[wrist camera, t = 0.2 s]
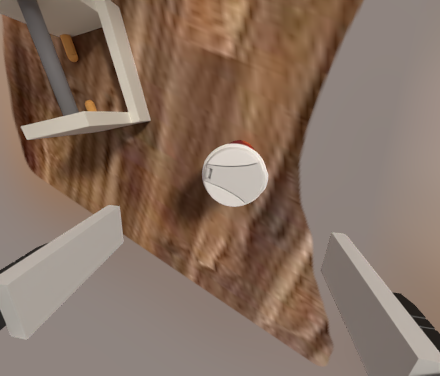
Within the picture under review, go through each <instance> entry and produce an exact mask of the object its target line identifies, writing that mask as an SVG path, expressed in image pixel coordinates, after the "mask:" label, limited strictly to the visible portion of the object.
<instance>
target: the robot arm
mask: <svg viewBox="0 0 440 376" xmlns="http://www.w3.org/2000/svg"><path fill="white" fill-rule="evenodd" d="M123 242H124V241H123V232H122V223H121V214H120V206H113V205H108V206H106V207H105V208H103V209H101V210H100V211H98V212H97V213H95V214H94V215H92V216H90V217H89V218H87V219H86V220H84V221H83V222H81V223H79V224H78V225H76V226H75V227H73V228H72V229H70V230H69V231H67V232H65V233H64V234H62V235H61V236H59V237H58V238H56V239H55V240H53V241H51V242H49V243H47V244H44V245H42V246H39V247H37V248H35V249H34V250H32V251H30V252H29V253H27V254H26V255H25V256H22V257H21V258H19V259H18V260H16V261H15V262H13V263H11V264H9V265H8V266H6V267H5V268H3V269H1V270H0V330H1V329H2V328H3V327H4V326H6V327H7V329H8V332H9V334H10V336H12V337H17V338H22V339H28V338H29V337H30V336H31V335H32V334H33V333H34V332H35V331H36V330H37V329H38V328H39V327H40V326H41V325H42V324H43V323H44V322H45V321H46V320H47V319H48V318H49V317H50V316H51V315H52V314H53V313H54V312H55V311H56V310H57V309H58V308H59V307H60V306H61V305H62V304H63V303H64V302H65V301H66V300H67V299H68V298H69V297H70V296H71V295H72V294H73V293H74V292H75V291H76V290H77V289H78V288H79V287H80V286H81V285H82V284H83V283H84V282H85V281H86V280H87V279H88V278H89V277H90V276H91V275H92V274H93V273H94V272H95V271H96V270H97V269H98V268H99V267H100V266H101V265H102V264H103V263H104V262H105V261H106V260H107V259H108V258H109V257H110V256H111V255H112V254H113V253H114V252H115V251H116V250H117V249H118V247H119V246H121V245H122V244H123ZM321 272H322V274H323V276H324V279H325V281H326V283H327V285H328V288H329V290H330V292H331V294H332V297H333V299H334V301H335V303H336V305H337V308H338V310H339V312H340V314H341V317H342V319H343V321H344V323H345V325H346V328H347V329H348V332H349V334H350V336H351V339H352V341H353V343H354V345H355V348H356V350H357V352H358V354H359V356H360V359H361V361H362V363H363V365H364V367H365V369H366V372H367V374H368V376H440V334H439V332H438V331H436V330H435V329H434V327H433V326H432V324H430V322H429V321H428V320H426V319H425V316H424V315H423V314H422V313H421V312H420V311H419V310H418V308H417V307H416V306H415V305H414V304H413V303H411V302H410V301H409V300H408V299H407V298H405V297H404V296H403V295H401V294H399V293H392V292H391V291H390V289H389V288H388V287H387V286H386V284H385V283H384V282H383V280H382V279H381V278H380V277H379V275H378V274H377V273H376V272H375V270H374V269H373V268H372V267H371V265H370V264H369V263H368V262H367V261H366V259H365V258H364V257H363V255H362V254H361V253H360V251H359V250H358V249H357V248H356V246H355V245H354V244H353V243H352V241H351V240H350V239H349V238H348V237H347V235H346V234H342V233H333V232H332V233H331V236H330V240H329V243H328V247H327V250H326V254H325V257H324V261H323V264H322V268H321Z"/></svg>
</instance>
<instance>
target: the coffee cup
mask: <svg viewBox="0 0 440 376" xmlns="http://www.w3.org/2000/svg"><path fill="white" fill-rule="evenodd" d="M202 179H203V184H204V186H205V188H206V190H207V192H208V193H209V194H210V196H211V197H212V198H213V199H214V200H216V201H217V202H219V203H221V204H223V205H226V206H232V207H237V206H242V205H245V204H248V203H250V202H252V201H254V200H255V199H256V198H257V197H258V196H259V195H260V194H261V193H262V192H263V191H264V190H265V188H266V185H267V182H268V173H267V170H266V166H265V163H264V161H263V159H262V158H261V157H260V155H259V154H258V153H257V152H256V151H255V150H254V148H253V147H252V146H251V145H250V144H249V143H247V142H245V141H241V140H237V141H233V142H231V143H229V144H226V145H223V146H220V147H218V148H217V149H215V150H214V151H212V152H211V154H210V155H209V156H208V157H207V159H206V160H205V163H204V165H203V169H202Z"/></svg>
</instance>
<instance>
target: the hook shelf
mask: <svg viewBox="0 0 440 376" xmlns="http://www.w3.org/2000/svg"><path fill="white" fill-rule="evenodd" d="M0 14H3V15H5V16H8V17H10V18H13V19H15V20H18V21H20V22H23V23H25V24H27V27H28V29H29V32H30V34H31V37H32V39H33V42H34V44H35V47H36V49H37V52H38V54H39V56H40V59H41V61H42V64H43V66H44V69H45V71H46V74H47V76H48V79H49V81H50V84H51V86H52V89H53V91H54V94H55V96H56V99H57V101H58V104H59V106H60V109H61V111H62V114H63V116H62V117H58V118H54V119H50V120H45V121H41V122H37V123H33V124H29V125H25V126H21V128H22V131H23V133H24V135H25V137H26V139H27V140H32V139H41V138H49V137H58V136H67V135H76V134H85V133H94V132H100V131H105V130H110V129H114V128H119V127H124V126H128V125H133V124H138V123H142V122H147V121H151V120H150V116H149V112H148V109H147V105H146V102H145V98H144V95H143V91H142V87H141V84H140V80H139V77H138V73H137V70H136V66H135V62H134V59H133V55H132V52H131V48H130V45H129V41H128V37H127V34H126V30H125V27H124V23H123V19H122V16H121V12H120V9H119V7H118V6H117V5H115V4H114V3H113V2H112V1H111V0H0ZM101 27H102V28H103V31H104V34H105V37H106V41H107V44H108V47H109V50H110V54H111V57H112V60H113V63H114V67H115V70H116V73H117V76H118V80H119V83H120V86H121V89H122V93H123V96H124V99H125V102H126V106H127V109H128V112H98V111H97V109H96V107H95V104H94V102H93V101H91V100H87V101H86V102H85V106H86V109H87V111H83V112H79V111H78V109H77V106H76V103H75V101H74V98H73V95H72V93H71V90H70V87H69V85H68V82H67V79H66V77H65V74H64V71H63V69H62V66H61V63H60V61H59V58H58V56H57V53H56V50H55V48H54V45H53V42H52V40H51V37H50V34H52V35H55V36H57V37H60V38H61V41H62V43H63V46H64V49H65V52H66V54H67V57H68V59H69V60H70V61H72V62H77V61H78V55H77V52H76V50H75V47H74V44H73V41H72V38H71V37H74V36H77V35H80V34H83V33H86V32H89V31H92V30H95V29H98V28H101ZM49 33H50V34H49Z"/></svg>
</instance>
